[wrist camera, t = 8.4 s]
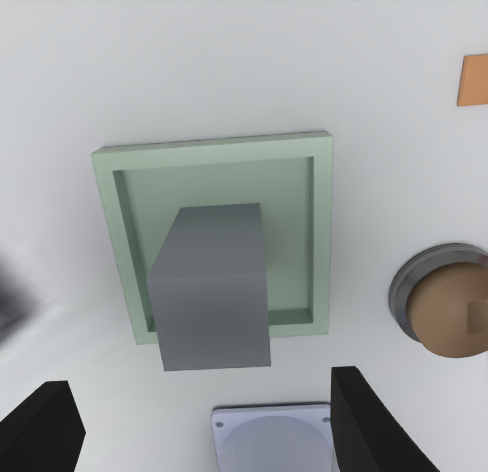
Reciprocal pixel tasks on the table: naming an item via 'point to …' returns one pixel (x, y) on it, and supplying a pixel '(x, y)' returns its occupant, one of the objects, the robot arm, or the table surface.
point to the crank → (451, 310)
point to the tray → (226, 193)
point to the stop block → (212, 290)
